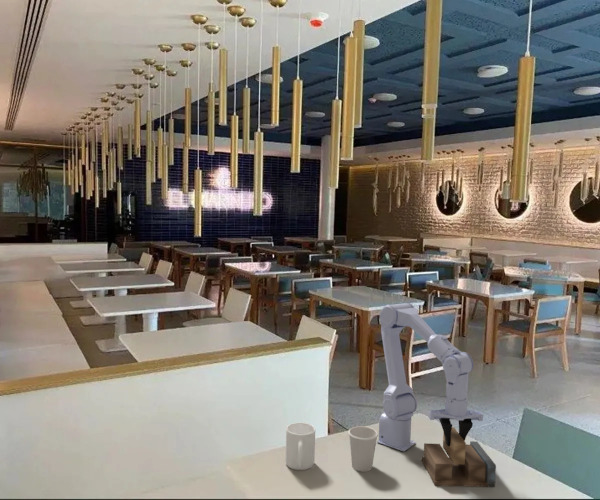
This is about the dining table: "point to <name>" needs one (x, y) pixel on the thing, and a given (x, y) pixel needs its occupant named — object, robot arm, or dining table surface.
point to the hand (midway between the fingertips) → (454, 444)
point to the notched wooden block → (459, 467)
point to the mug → (300, 446)
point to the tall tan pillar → (455, 447)
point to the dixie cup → (362, 447)
